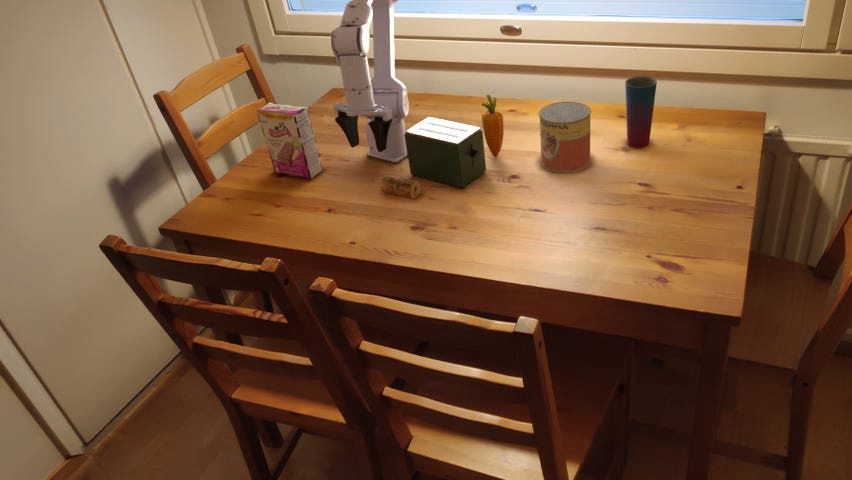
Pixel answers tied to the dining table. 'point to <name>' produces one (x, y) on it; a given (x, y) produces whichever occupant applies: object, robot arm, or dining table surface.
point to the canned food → (565, 136)
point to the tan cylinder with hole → (400, 186)
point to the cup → (639, 109)
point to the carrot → (493, 126)
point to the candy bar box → (290, 140)
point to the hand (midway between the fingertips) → (368, 148)
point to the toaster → (445, 152)
